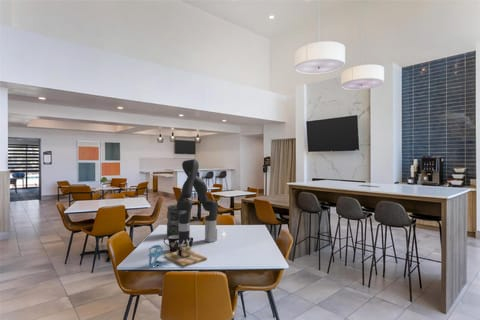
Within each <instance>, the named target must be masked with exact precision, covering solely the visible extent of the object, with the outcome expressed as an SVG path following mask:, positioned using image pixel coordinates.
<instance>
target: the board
mask: <svg viewBox="0 0 480 320" xmlns="http://www.w3.org/2000/svg"><path fill="white" fill-rule="evenodd" d="M163 255H164V257H165V258H166V259H168V260H169V259H170V260H169V261H170V262H173V263H175V264H176V265H179V266H180V267H182V268H185V267H188V266H192V265H195V264H199V263H202V262H205V261H208V257H206V256H204V255H202V254H200V253H197V252H195V251H194V250H191V254H190V256H189V257H185V258H183V257H181V256H179V255H177V251H176V252H169V253H166V254H163Z"/></svg>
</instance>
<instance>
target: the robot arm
mask: <svg viewBox="0 0 480 320" xmlns="http://www.w3.org/2000/svg"><path fill="white" fill-rule="evenodd" d="M199 165H200V164H199V161H198V159H196V158H192V159H188V160H184V161H182V163H181V166H182V170H183V171H184V174H185V175H186V177H187V178H186V179H185V181H184V183H183V185H182V189H181V193H180V196H179V198H178V200H177V202H176V207H177V209H178V210H181V211H186V213H184V214H180V215H179V230H178V236H179V239H178V240H177V241H174V243H175V248H176V249H177V250H178V254H179V255H180V256H181V252H182V250H181V249H182V247H183V245H184V244H185V245H187V246H189V247H193V242H194V237H191V236H190V234H191V232H190V231H191V227H190V226H191V224H190V215H191V212H192V208H193V202H192V201H191V200H189V199H190V198H191V197H192V193H193V189H194V190H195V193H196V194H197V196H198V198H199V200H200V203H201V206H202V208H203V210H204V211H206V212H210V213H209V215H206V216H205V217H204V241H205V242H206V243H215V242H217V241H218V228H217V217H218V208H219V205H218V202H217V201H216V200H212V199H211V200H210V199H209V198H208V196H207V193H208V187H207V184H206V182H205V180H203V179H202V177H199V176H198V171H199ZM187 199H188V200H187ZM178 242H179V246H178Z"/></svg>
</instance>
